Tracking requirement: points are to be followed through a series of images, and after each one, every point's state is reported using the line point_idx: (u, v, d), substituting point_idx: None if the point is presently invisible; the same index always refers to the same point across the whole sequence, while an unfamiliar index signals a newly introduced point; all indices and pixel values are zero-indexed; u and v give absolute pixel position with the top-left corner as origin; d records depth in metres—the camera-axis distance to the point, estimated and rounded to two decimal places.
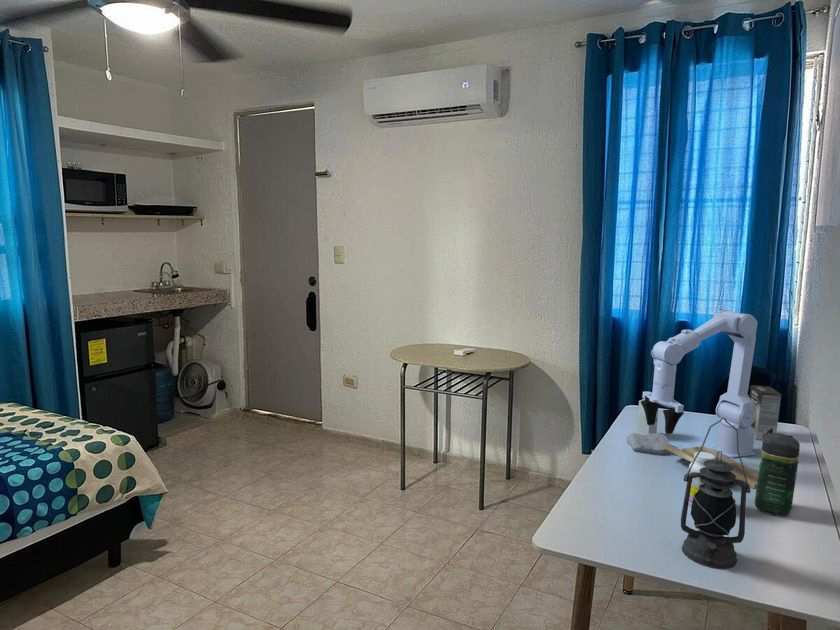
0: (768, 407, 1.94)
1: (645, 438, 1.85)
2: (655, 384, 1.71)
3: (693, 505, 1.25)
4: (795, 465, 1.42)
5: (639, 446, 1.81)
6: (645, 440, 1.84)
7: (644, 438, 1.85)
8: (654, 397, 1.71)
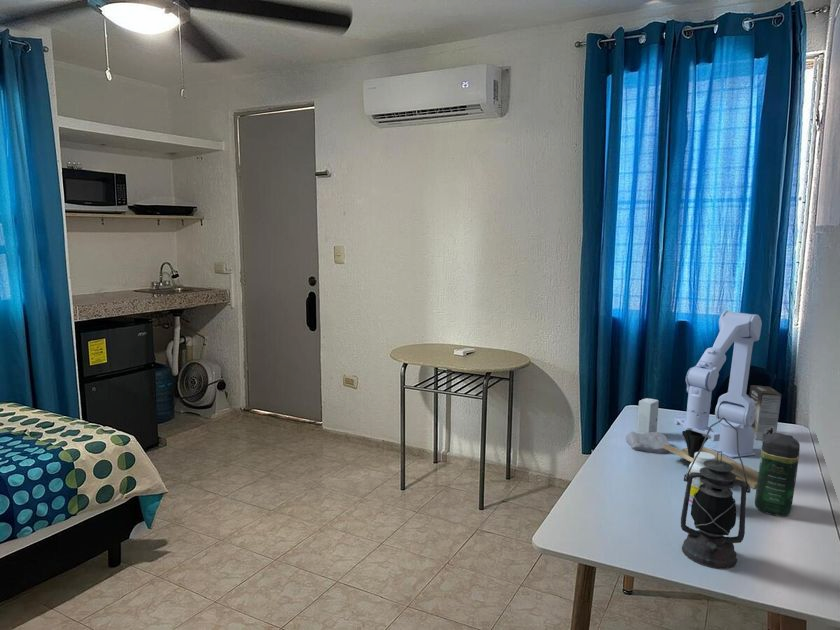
0: (768, 407, 1.94)
1: (644, 437, 1.86)
2: (689, 411, 1.65)
3: (693, 505, 1.25)
4: (795, 465, 1.42)
5: (638, 445, 1.82)
6: (644, 439, 1.85)
7: (643, 437, 1.86)
8: (688, 424, 1.65)
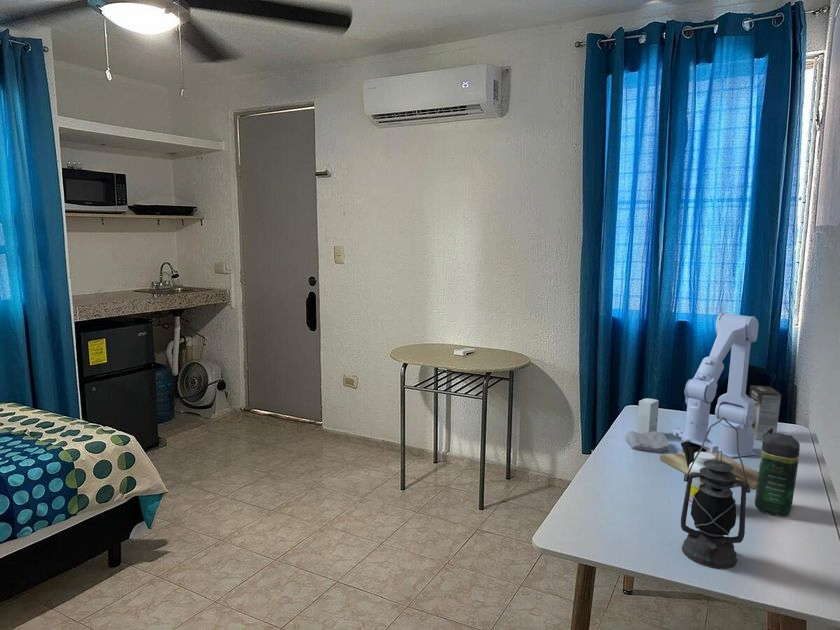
0: (768, 407, 1.94)
1: (644, 436, 1.87)
2: (687, 422, 1.65)
3: (693, 505, 1.25)
4: (795, 465, 1.42)
5: (638, 444, 1.83)
6: (644, 439, 1.85)
7: (643, 436, 1.87)
8: (687, 436, 1.66)
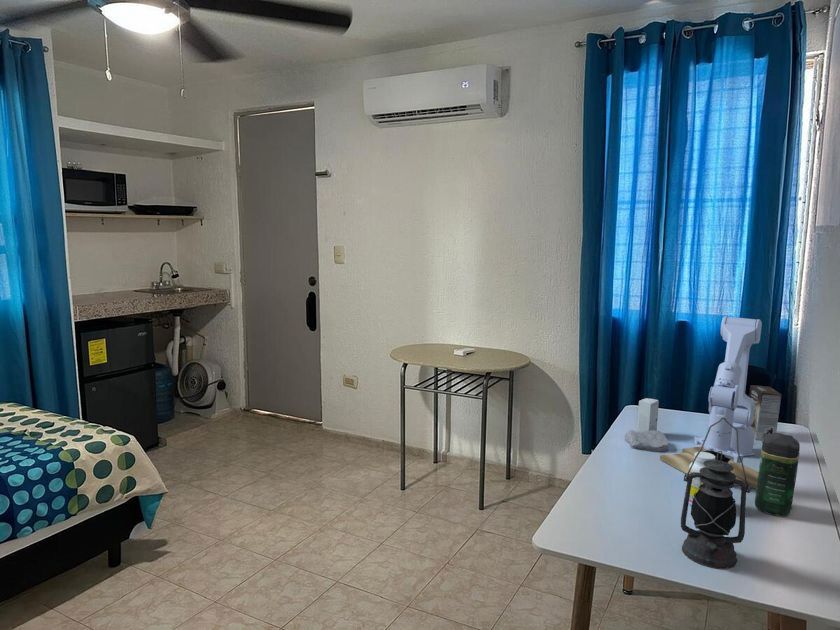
0: (768, 407, 1.94)
1: (643, 435, 1.88)
2: (710, 431, 1.59)
3: (693, 505, 1.25)
4: (795, 465, 1.42)
5: (637, 443, 1.84)
6: (643, 437, 1.86)
7: (642, 435, 1.88)
8: (709, 445, 1.59)
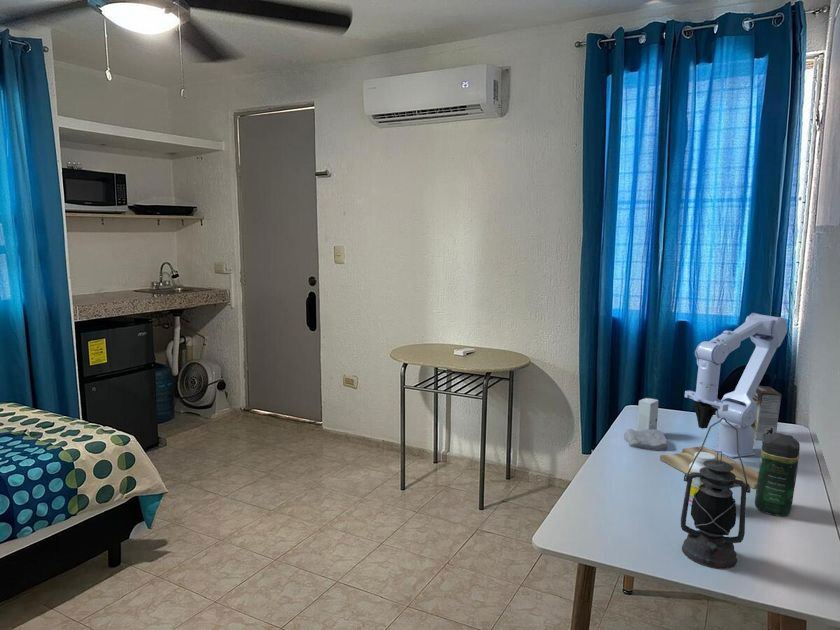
0: (768, 407, 1.94)
1: (642, 434, 1.89)
2: (699, 383, 1.73)
3: (693, 505, 1.25)
4: (795, 465, 1.42)
5: (636, 442, 1.85)
6: (642, 436, 1.87)
7: (641, 434, 1.89)
8: (698, 396, 1.74)
